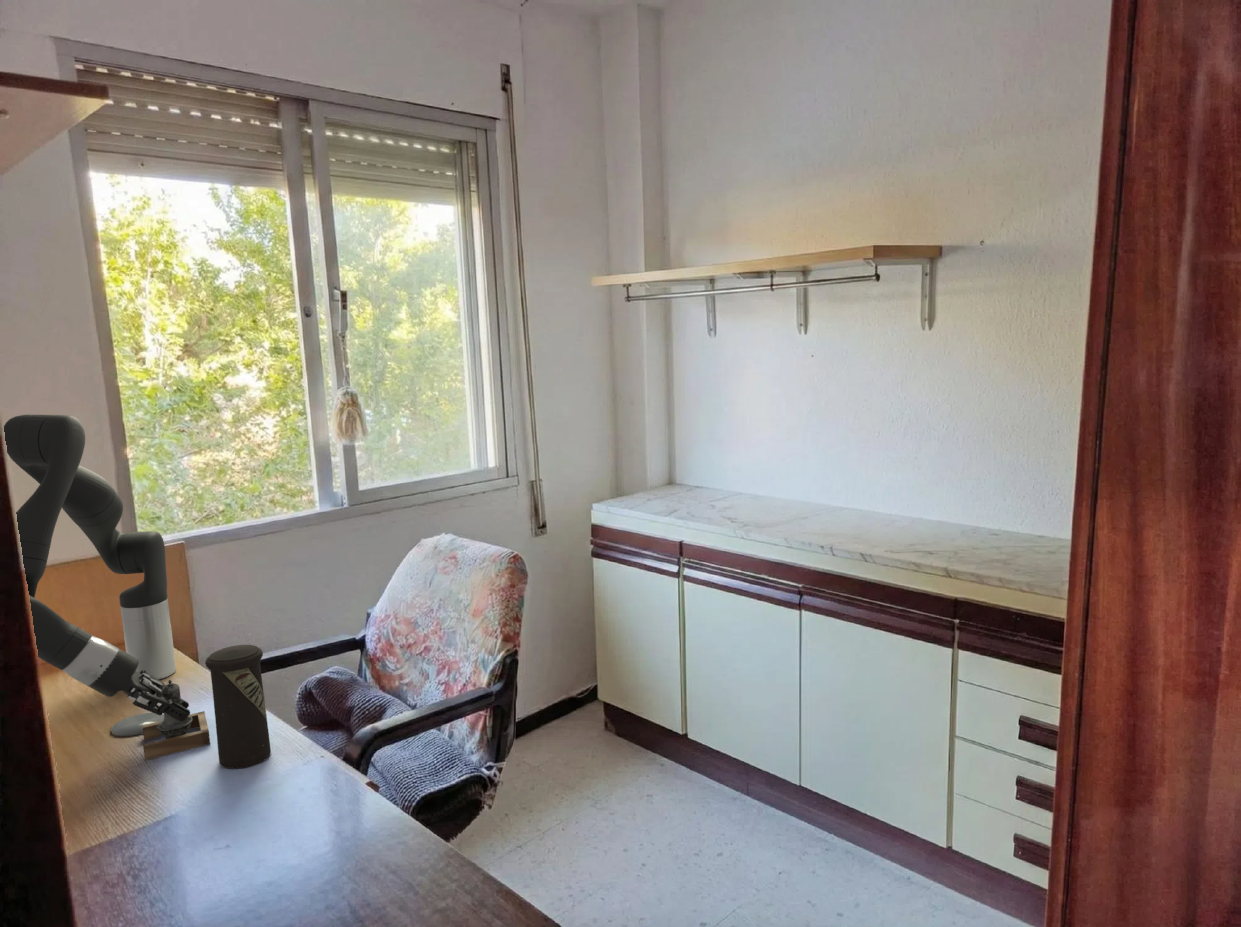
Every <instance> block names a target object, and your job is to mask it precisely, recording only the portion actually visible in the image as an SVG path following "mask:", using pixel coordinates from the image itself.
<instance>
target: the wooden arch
mask: <svg viewBox="0 0 1241 927" xmlns="http://www.w3.org/2000/svg"><path fill="white" fill-rule="evenodd" d="M189 716H190V717H192V719H193V720H192V722H191V727H190V730H193V729H197V728H199V730H198V731H194V732H189V733H188V734H185V735H181V736H177V737H173V738H168V739H165V738H164V739H161V740H157V741H153V742H148V743H145V744H142V749H143V757H144V761H148V760H153V759H157V758H161V757H166V756H169V755H173V754H176V753H180V752H184V751H188V750H192V749H196V748H201V747H204V746H208V745H210V744H211V739H210V731H209V730H210V729H209V726H208V721H207V718H206V711H205V710H203V711H199V712H194V713H192V714H191V713H190V715H189ZM160 722H162V721H160ZM160 722H155V723H151V724H147V725H143V734H142V735H143V740H144V741H147V740H152V739H157V738H160V737H162V736H161V734H160V733H159V730H158V729H157V728H156V727H157V725H158V724H159V723H160ZM156 737H157V738H156Z"/></svg>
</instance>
